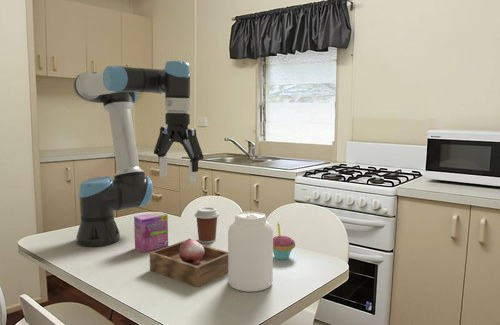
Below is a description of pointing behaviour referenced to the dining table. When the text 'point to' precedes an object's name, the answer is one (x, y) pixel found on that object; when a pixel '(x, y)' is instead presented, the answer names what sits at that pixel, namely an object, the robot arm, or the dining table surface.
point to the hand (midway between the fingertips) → (177, 179)
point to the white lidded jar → (250, 252)
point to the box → (151, 231)
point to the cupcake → (282, 246)
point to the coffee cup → (207, 224)
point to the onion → (191, 252)
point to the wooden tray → (189, 265)
